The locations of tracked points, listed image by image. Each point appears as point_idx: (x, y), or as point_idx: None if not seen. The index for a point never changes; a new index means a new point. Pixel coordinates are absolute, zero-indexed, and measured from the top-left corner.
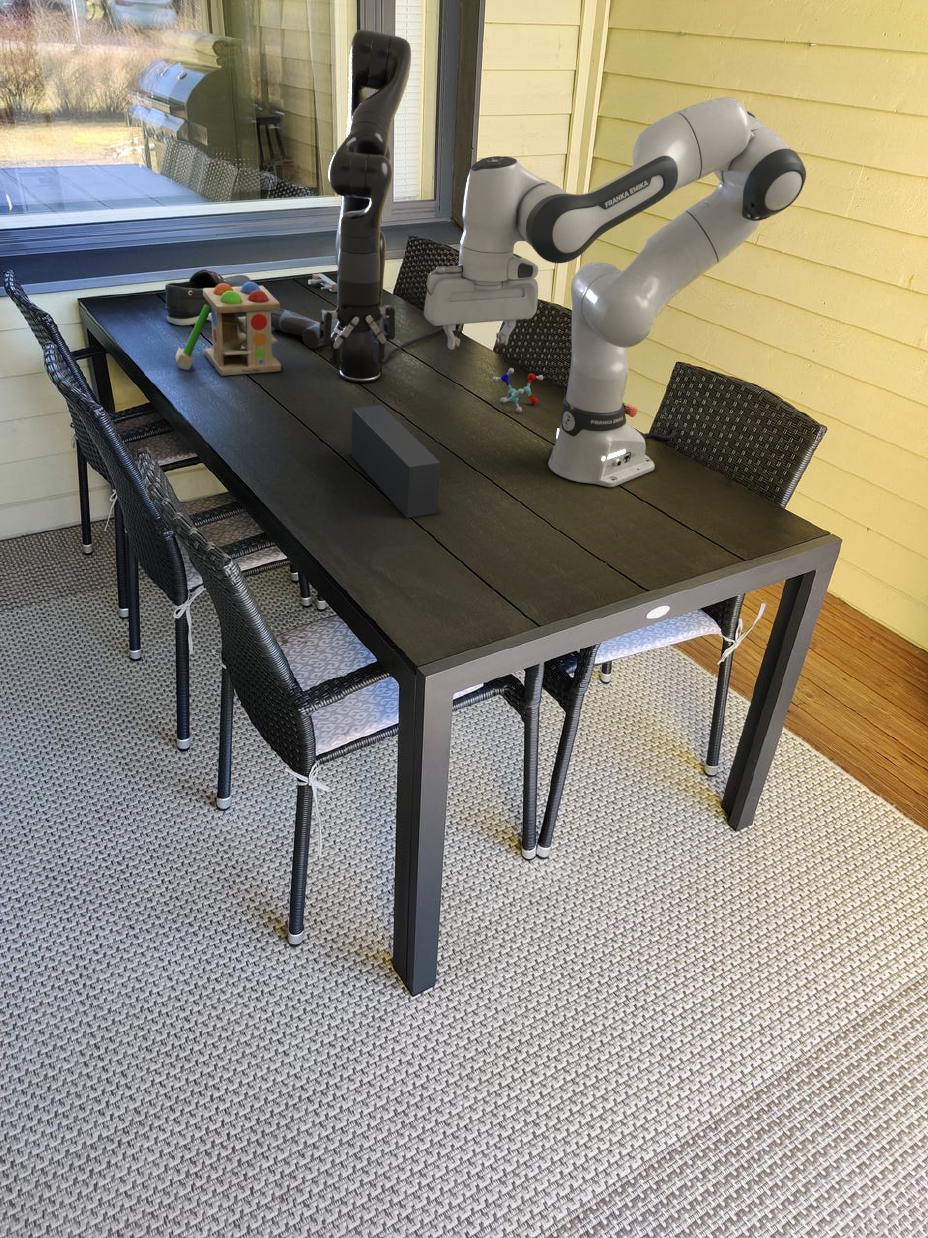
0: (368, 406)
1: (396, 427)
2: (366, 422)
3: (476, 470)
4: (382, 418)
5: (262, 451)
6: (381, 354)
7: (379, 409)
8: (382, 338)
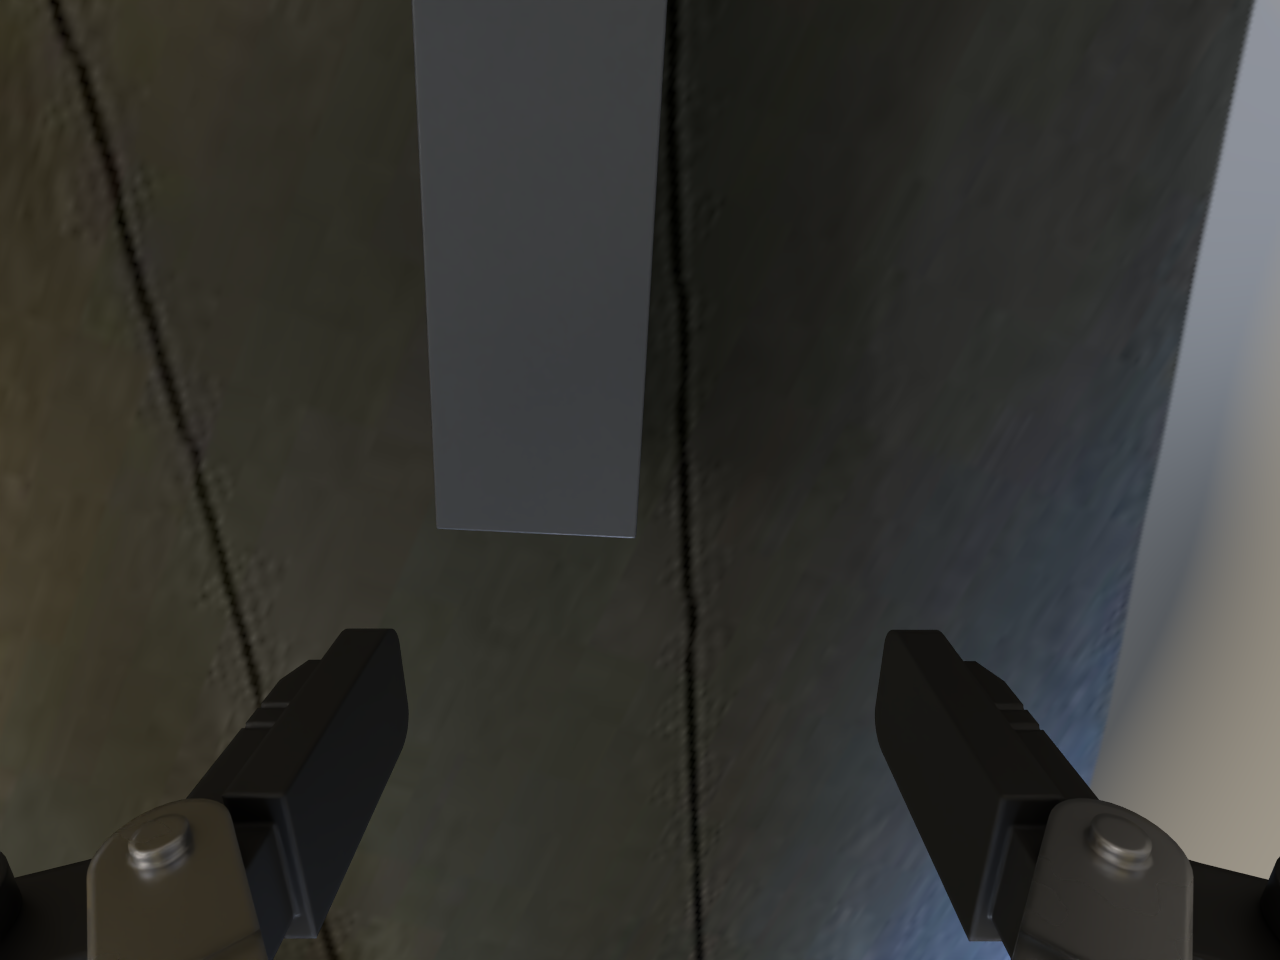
0: (525, 530)
1: (474, 130)
2: (648, 295)
3: (78, 68)
4: (512, 320)
5: (962, 600)
6: (308, 685)
7: (473, 465)
8: (156, 878)
